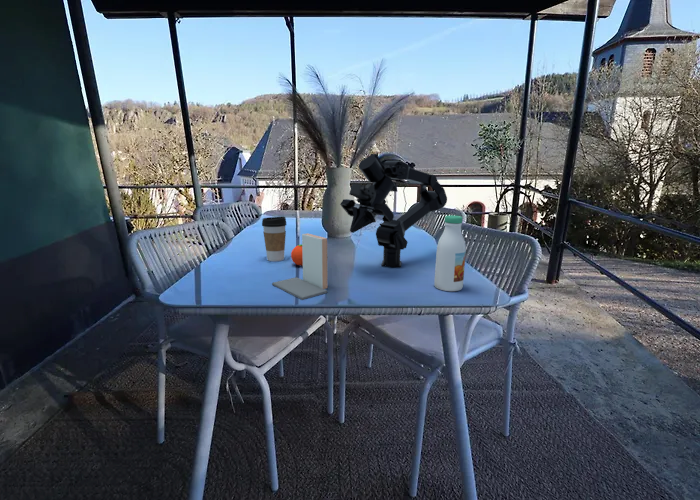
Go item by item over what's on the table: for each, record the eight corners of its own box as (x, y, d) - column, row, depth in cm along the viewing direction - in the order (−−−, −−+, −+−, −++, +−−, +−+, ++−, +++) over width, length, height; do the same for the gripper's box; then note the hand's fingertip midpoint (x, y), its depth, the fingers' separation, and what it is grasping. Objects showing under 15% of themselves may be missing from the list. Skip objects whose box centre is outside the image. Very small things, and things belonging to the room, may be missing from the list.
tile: (308, 280, 106) (307, 233, 103) (327, 287, 100) (327, 238, 97) (303, 281, 105) (301, 234, 102) (321, 289, 99) (321, 239, 95)
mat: (296, 279, 107) (296, 277, 107) (327, 292, 96) (327, 290, 96) (272, 284, 102) (272, 282, 102) (302, 299, 91) (302, 297, 91)
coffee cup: (285, 262, 125) (283, 219, 121) (260, 262, 125) (258, 219, 121) (289, 256, 133) (288, 215, 129) (266, 256, 133) (264, 215, 129)
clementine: (288, 262, 125) (288, 242, 123) (308, 260, 127) (308, 241, 125) (293, 268, 117) (293, 247, 116) (314, 266, 120) (314, 246, 118)
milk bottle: (443, 293, 97) (448, 219, 92) (429, 284, 104) (433, 214, 99) (468, 290, 99) (474, 217, 94) (452, 281, 106) (458, 213, 101)
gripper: (344, 173, 114) (317, 211, 110) (388, 175, 101) (358, 218, 96) (362, 197, 121) (337, 233, 117) (405, 201, 108) (378, 243, 103)
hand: (351, 231), depth 108 cm, fingers closed
